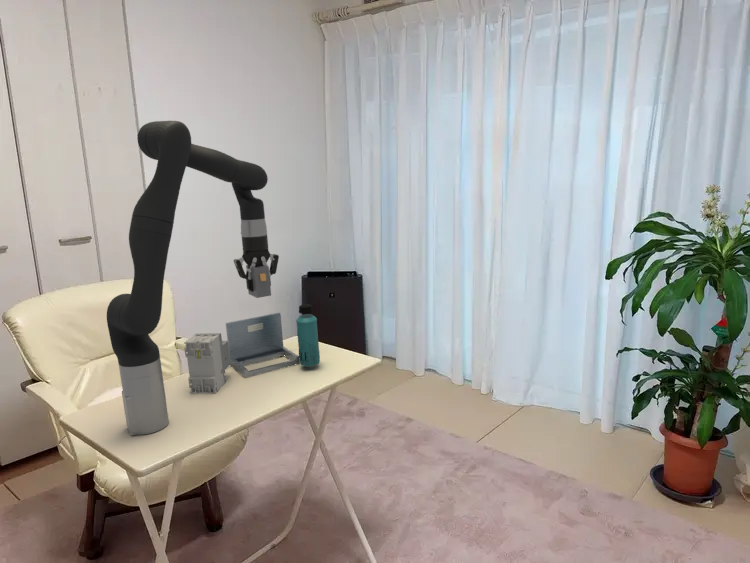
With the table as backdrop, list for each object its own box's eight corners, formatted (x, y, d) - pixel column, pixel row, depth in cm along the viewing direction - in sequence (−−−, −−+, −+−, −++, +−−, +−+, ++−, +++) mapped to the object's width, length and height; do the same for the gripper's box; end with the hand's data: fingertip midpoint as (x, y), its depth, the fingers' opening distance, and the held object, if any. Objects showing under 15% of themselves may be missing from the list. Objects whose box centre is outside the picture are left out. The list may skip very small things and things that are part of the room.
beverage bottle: (323, 363, 170) (318, 302, 166) (317, 371, 164) (313, 307, 160) (302, 363, 171) (298, 302, 167) (296, 371, 165) (291, 308, 161)
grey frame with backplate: (245, 377, 162) (240, 333, 159) (230, 365, 173) (225, 323, 170) (299, 363, 171) (296, 321, 168) (282, 352, 182) (279, 312, 179)
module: (258, 298, 161) (255, 268, 159) (248, 293, 167) (245, 265, 165) (272, 295, 163) (269, 266, 161) (262, 291, 170) (259, 263, 168)
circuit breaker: (233, 373, 165) (228, 326, 162) (215, 393, 151) (209, 342, 148) (210, 374, 166) (204, 327, 163) (190, 393, 152) (183, 342, 149)
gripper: (235, 237, 155) (241, 296, 158) (281, 232, 162) (286, 288, 166) (226, 235, 161) (232, 291, 165) (271, 230, 169) (276, 284, 172)
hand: (259, 289), depth 165 cm, fingers closed on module, 4 cm apart
